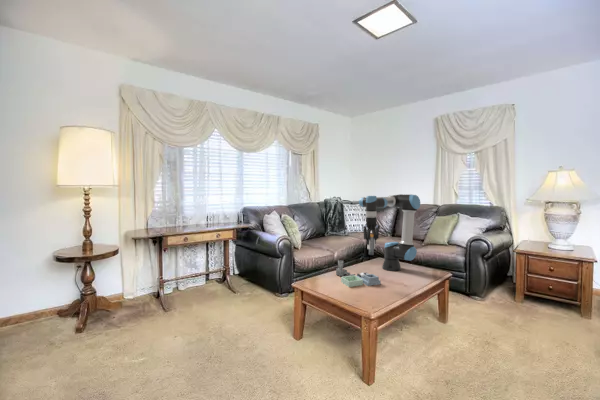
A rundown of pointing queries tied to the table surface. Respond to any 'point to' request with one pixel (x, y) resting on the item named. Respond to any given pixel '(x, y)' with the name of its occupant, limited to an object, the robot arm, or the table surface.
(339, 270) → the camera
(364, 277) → the block
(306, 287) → the table surface
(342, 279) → the tray
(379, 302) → the table surface
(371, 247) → the orange and grey cylinder
